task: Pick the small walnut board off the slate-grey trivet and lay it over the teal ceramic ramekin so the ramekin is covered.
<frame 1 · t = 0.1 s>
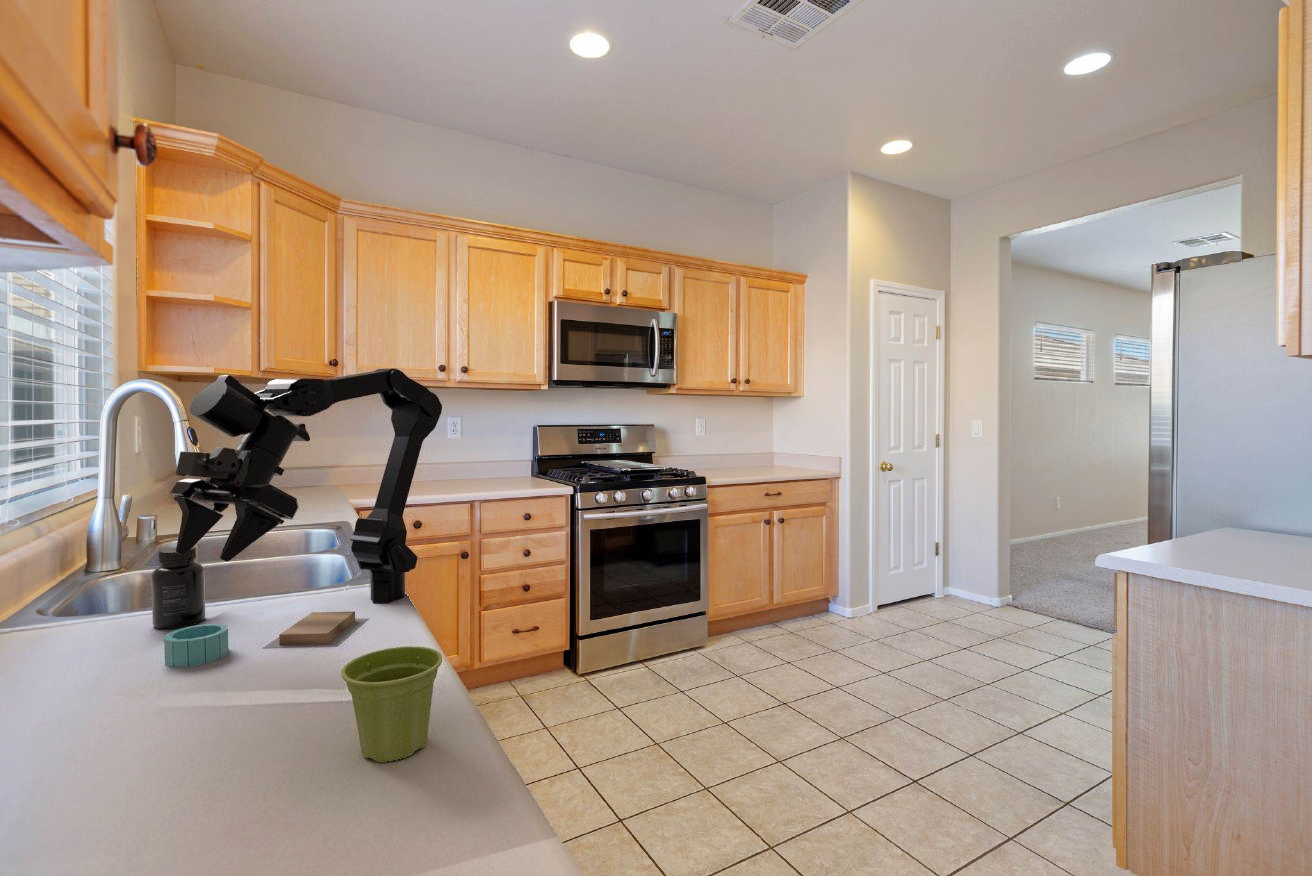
hand: (201, 557, 83), 15 cm above the countertop, tool tilted 30°, fingers open, 9 cm apart
ramekin: (197, 665, 84), on the countertop
plant pot: (394, 749, 63), on the countertop
trivet: (319, 640, 93), on the countertop
supplement bottle: (179, 624, 101), on the countertop
walnut board: (319, 632, 93), point 1 cm above the countertop, touching trivet
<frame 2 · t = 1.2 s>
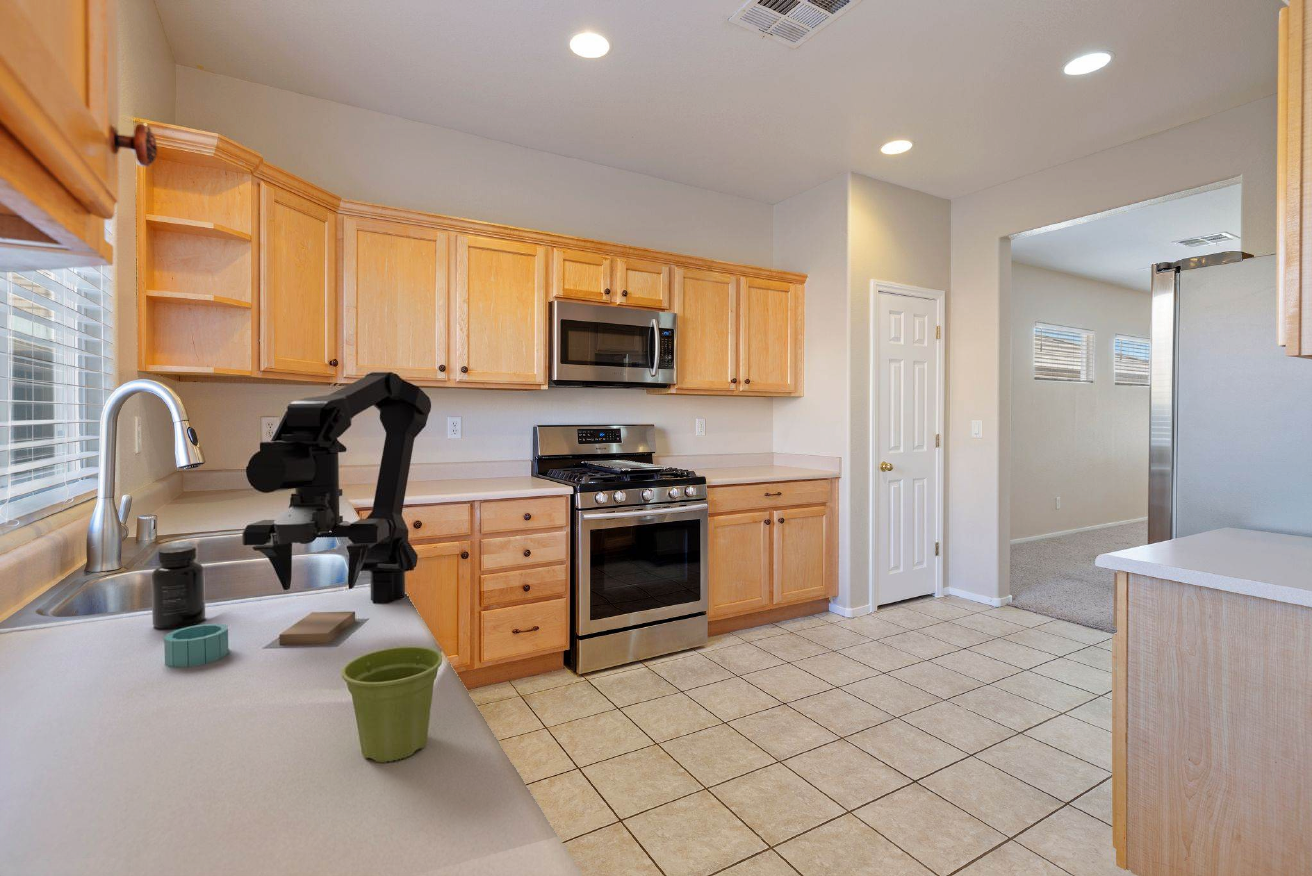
hand: (319, 588, 93), 8 cm above the countertop, tool pointing down, fingers open, 9 cm apart
nothing on the countertop moved.
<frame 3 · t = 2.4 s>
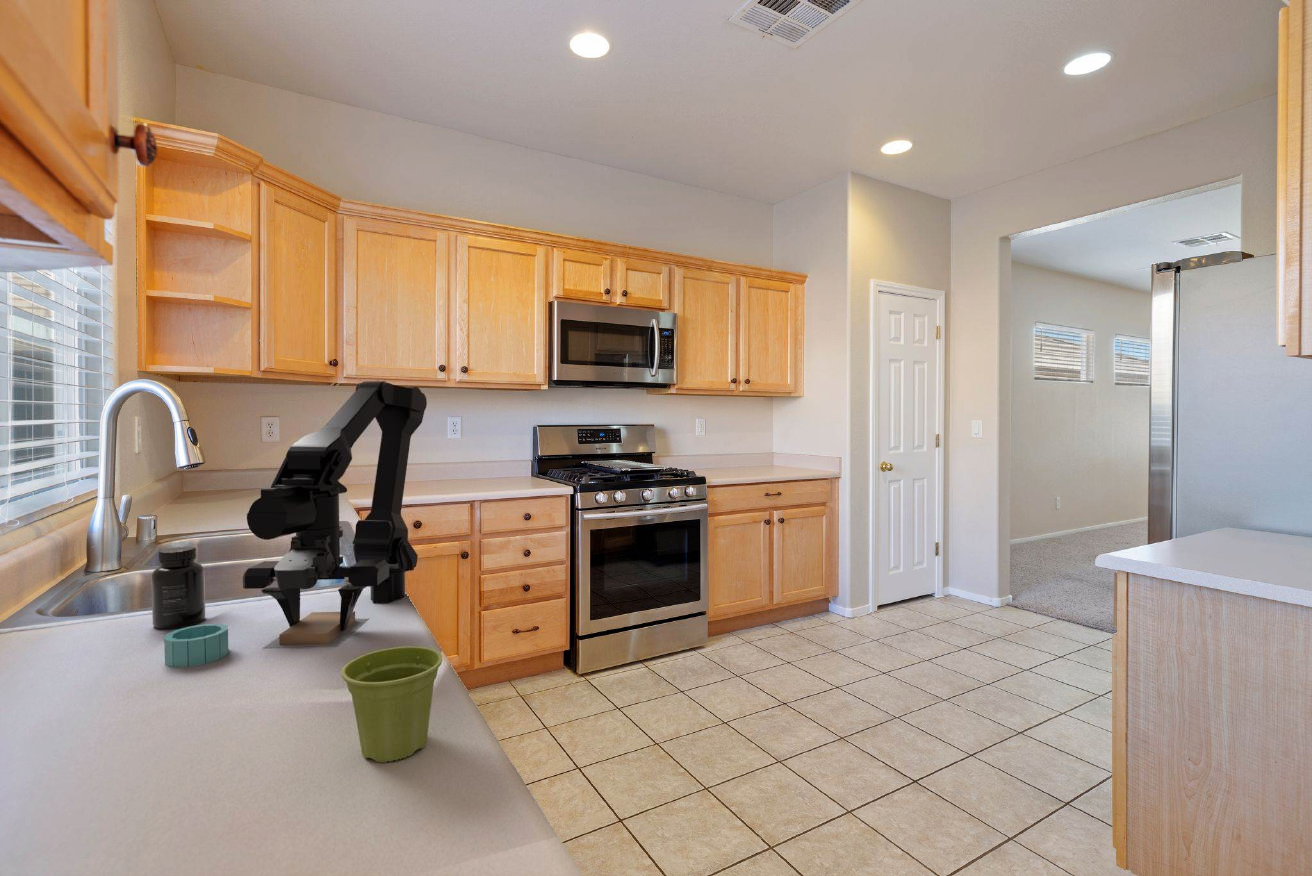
hand: (319, 630, 93), 1 cm above the countertop, tool pointing down, fingers closed on walnut board, 6 cm apart
walnut board: (319, 632, 93), point 1 cm above the countertop, touching gripper, trivet
everything else where it was.
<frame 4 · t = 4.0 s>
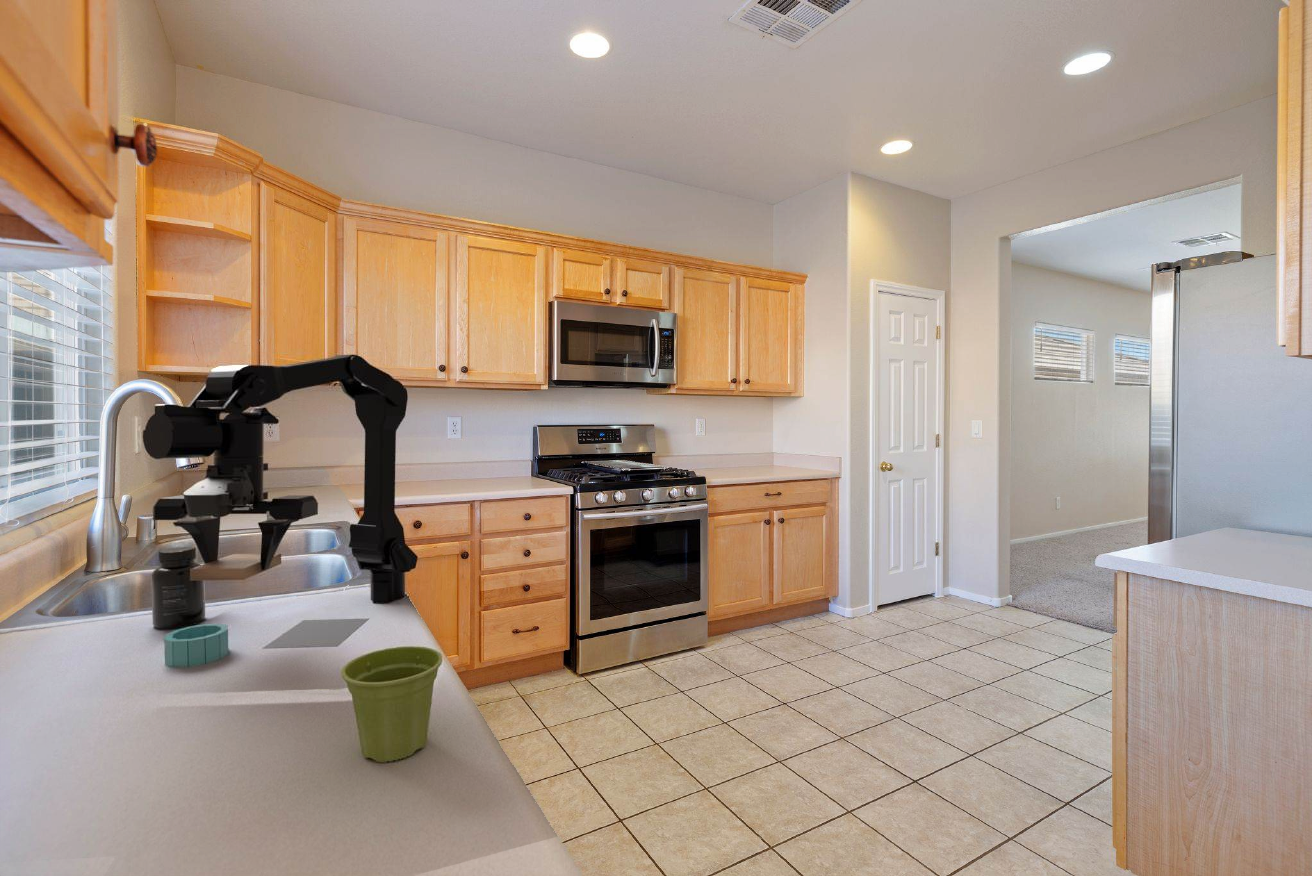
hand: (238, 570, 86), 12 cm above the countertop, tool pointing down, fingers closed on walnut board, 6 cm apart
walnut board: (238, 571, 86), point 12 cm above the countertop, touching gripper
everything else where it was.
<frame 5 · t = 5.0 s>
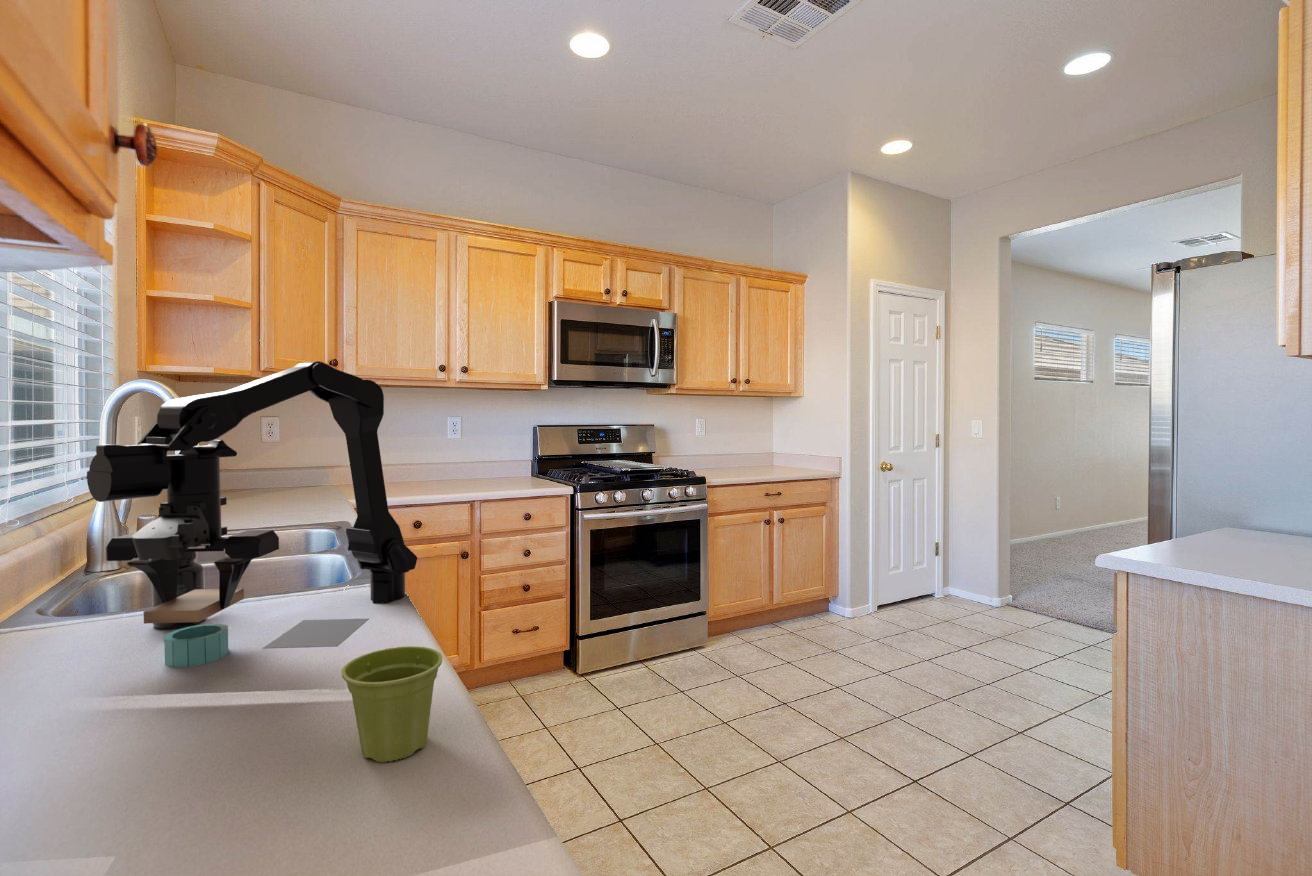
hand: (197, 608, 84), 8 cm above the countertop, tool pointing down, fingers closed on walnut board, 6 cm apart
walnut board: (197, 610, 84), point 7 cm above the countertop, touching gripper
everything else where it was.
when the fingers open (6 cm above the countertop, at t = 5.8 s): walnut board drops 1 cm, resting on ramekin.
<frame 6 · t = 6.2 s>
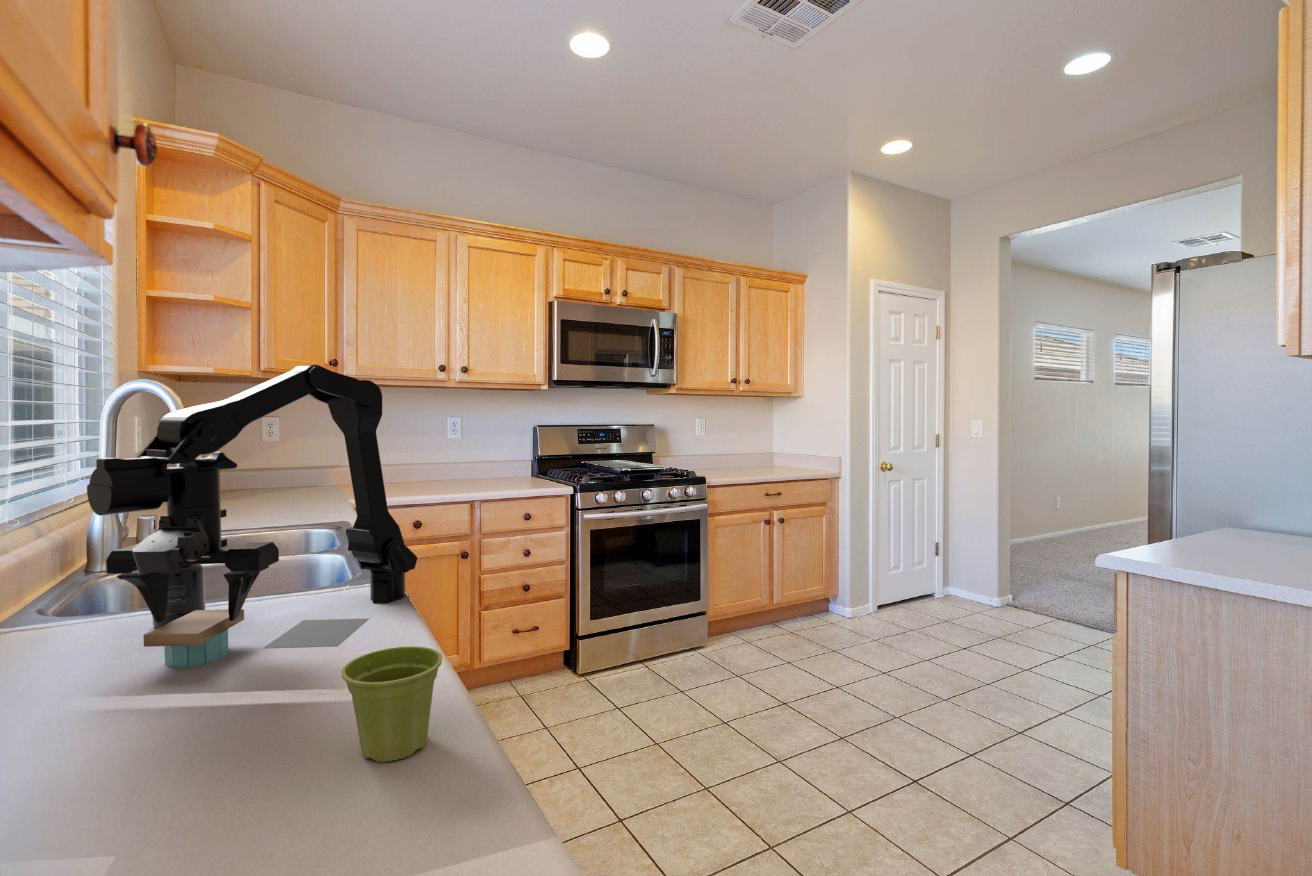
hand: (197, 621, 84), 6 cm above the countertop, tool pointing down, fingers open, 9 cm apart
walnut board: (197, 632, 84), point 4 cm above the countertop, touching ramekin
everything else where it was.
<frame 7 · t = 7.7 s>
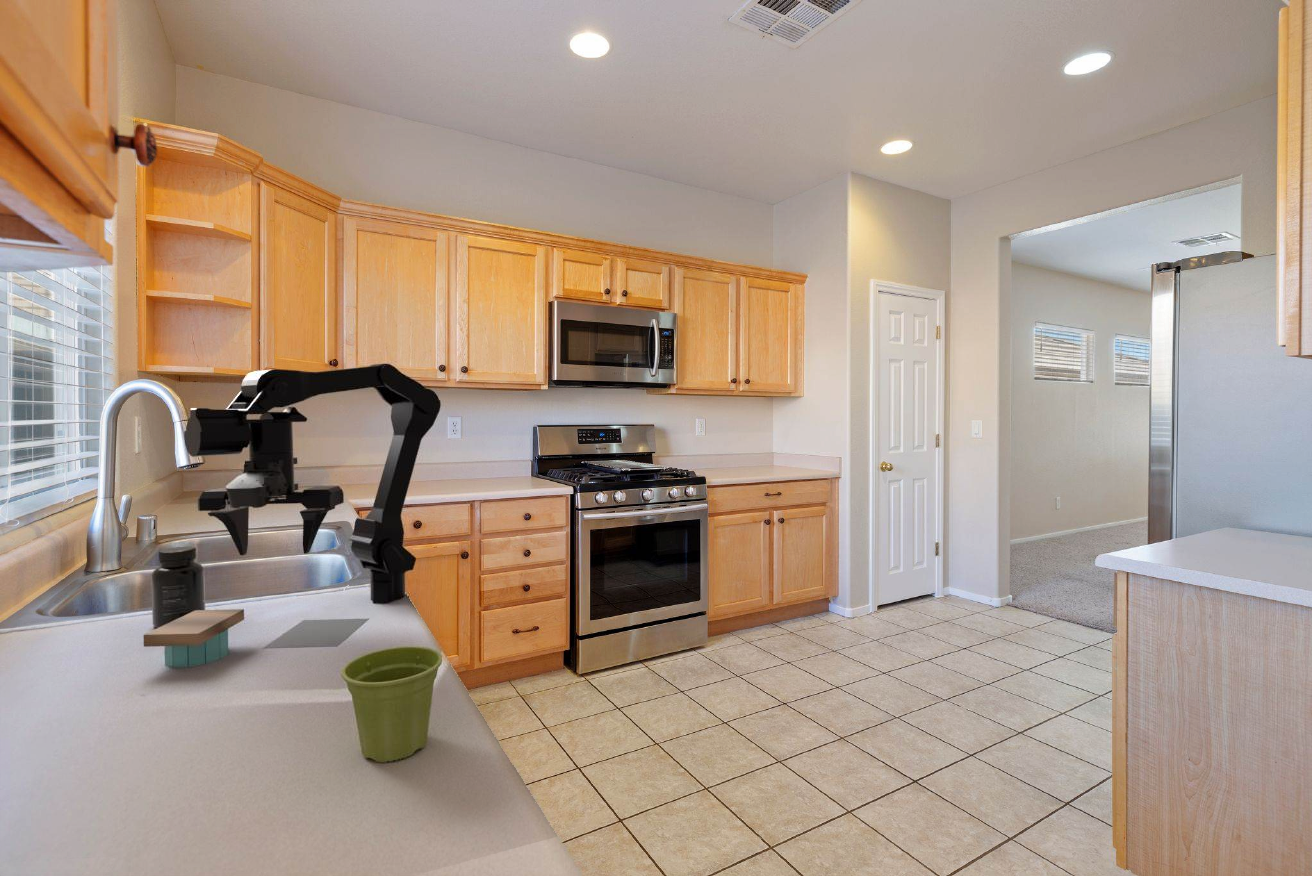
hand: (275, 554, 96), 12 cm above the countertop, tool pointing down, fingers open, 9 cm apart
nothing on the countertop moved.
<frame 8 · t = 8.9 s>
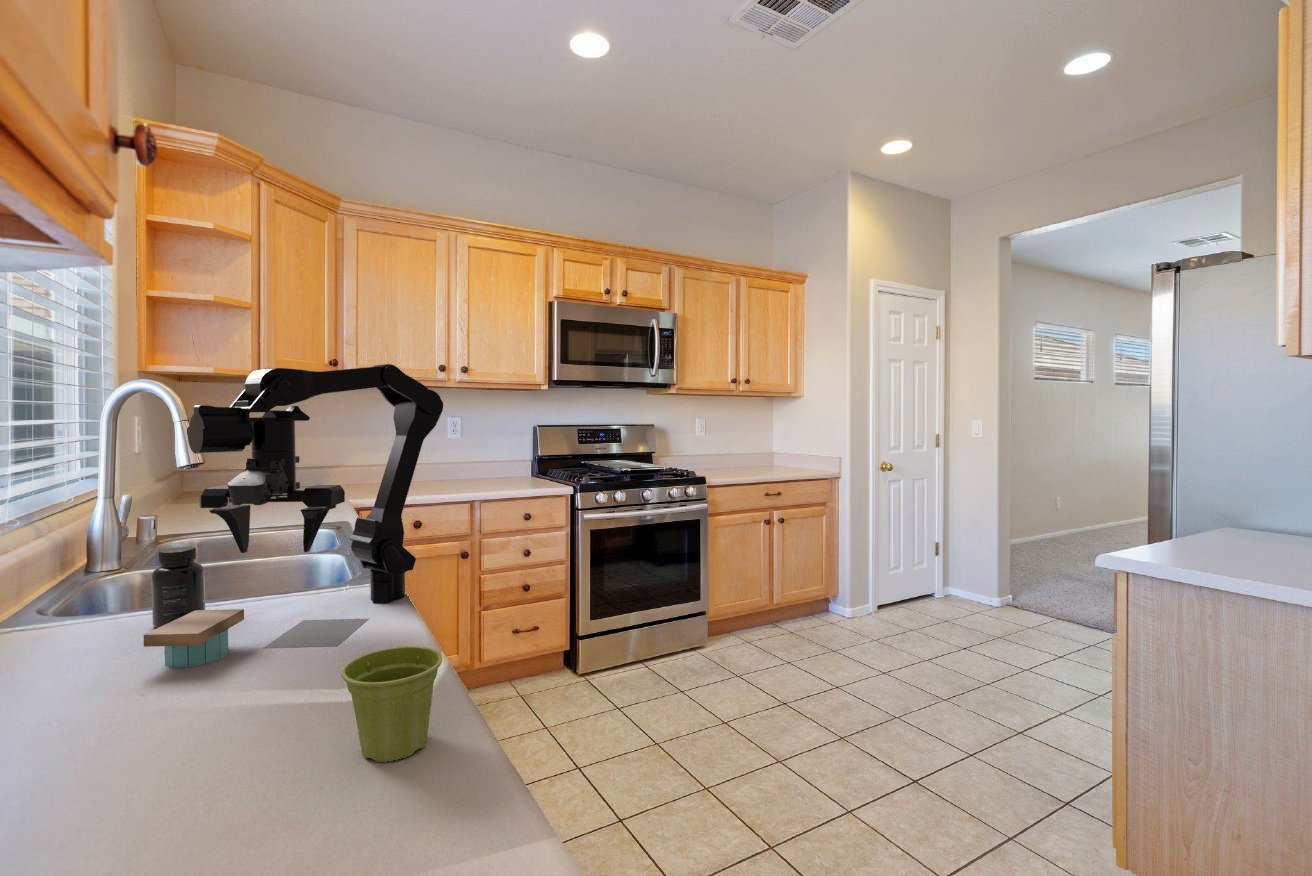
hand: (275, 552, 96), 13 cm above the countertop, tool pointing down, fingers open, 9 cm apart
nothing on the countertop moved.
at the end: walnut board 0.1 cm off-centre on the ramekin, point 4.5 cm above the ramekin's base; walnut board tilted 0°; the gripper is holding nothing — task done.
